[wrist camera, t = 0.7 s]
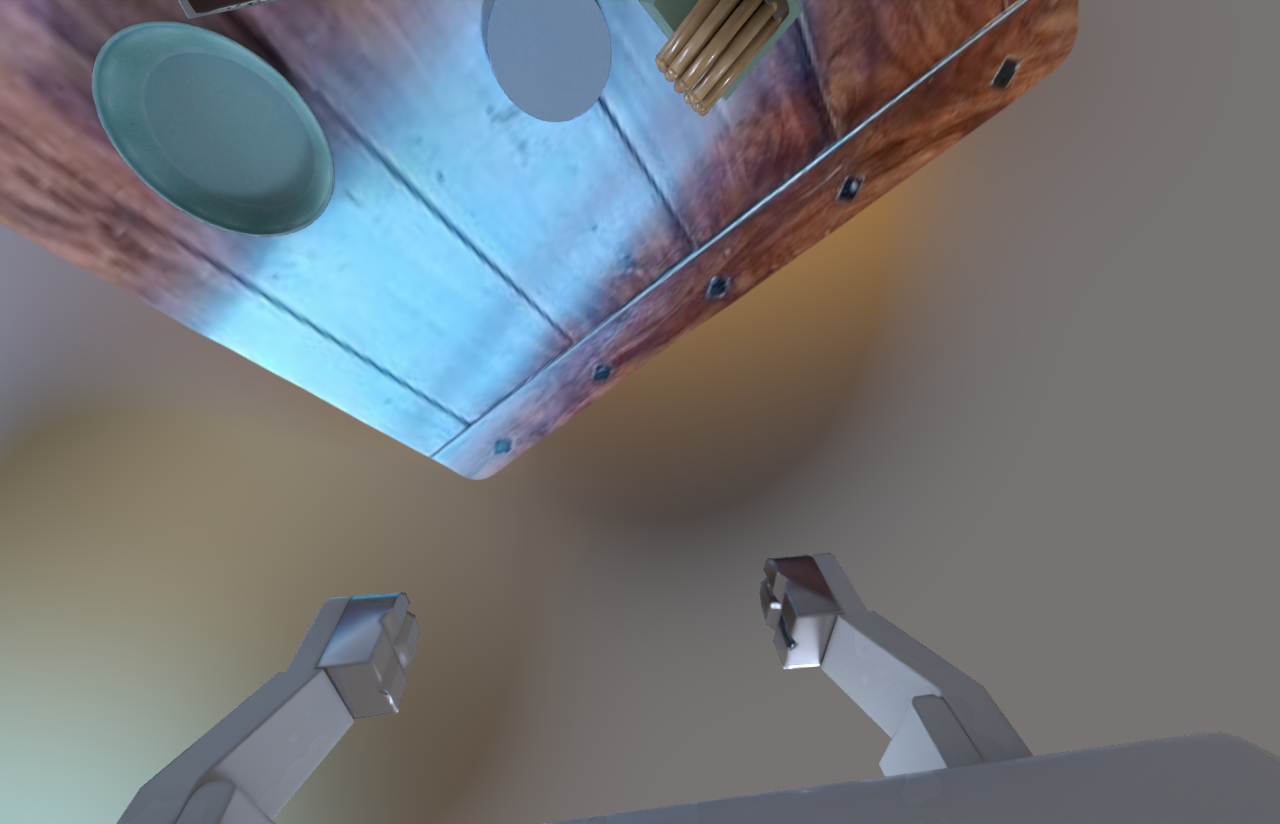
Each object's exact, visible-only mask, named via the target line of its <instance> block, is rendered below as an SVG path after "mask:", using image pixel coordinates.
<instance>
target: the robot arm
mask: <svg viewBox="0 0 1280 824" xmlns="http://www.w3.org/2000/svg"><path fill="white" fill-rule="evenodd" d="M764 572H765V574H766V578H765V579H764V580H763V581H762V582H761V587H760V602H761V608H762V611H763V615H764V618H765V620H766V623H767V624H768V625H769V626H770V627H771V628H773V629H774V630H775V636H774V641H773V642H774V644H775V647H776V650H777V652H778V655H779V657H780V660H781V663H782V665H783V668H784V669H791V668H802V667H815V666H821V669H822V670H823V671H824V672H825V673H826V674H827V675H828V676H829V677H830V678H831V679H832V680H833V681H834V682H835V683H836V684H837V685H838V686H839V687H840V688H841V689H842V690H843V691H845V692H846V694H847V695H848V696H850V698H851V699H852V700H854V701H855V702H856V703H857V704H858V705H859V706H860V707H861V708H862V709H863V710H864V711H865V712H866V713H867V714H868V715H869V716H870V717H871V718H872V719H873V720H874V721H875V722H876V723H877V724H878V725H879V726H880V727H881V728H882V729H883V730H884V731H885V732H886V733H887V734H888V735H889V736H890V737H891V738H892V739H891V741H890V743H889V745H888V747H887V748H886V750H885V752H884V754H883V756H882V758H881V761H880V763H879V765H880V767H881V769H882V771H883V773H884V775H885V777H878V778H870V779H863V780H855V781H848V782H841V783H833V784H826V785H820V786H812V787H804V788H797V789H790V790H782V791H775V792H768V793H761V794H753V795H746V796H739V797H732V798H724V799H717V800H710V801H702V802H695V803H688V804H681V805H673V806H666V807H659V808H651V809H644V810H637V811H629V812H622V813H615V814H607V815H600V816H593V817H585V818H578V819H571V820H563V821H556V822H549V823H542V824H1280V757H1278V756H1276V755H1274V754H1272V753H1270V752H1269V751H1267V750H1264V749H1262V748H1260V747H1258V746H1256V745H1254V744H1252V743H1250V742H1248V741H1246V740H1244V739H1242V738H1240V737H1237V736H1233V735H1230V734H1225V733H1220V732H1218V733H1197V734H1190V735H1183V736H1176V737H1169V738H1163V739H1155V740H1148V741H1140V742H1133V743H1126V744H1118V745H1111V746H1104V747H1097V748H1090V749H1082V750H1075V751H1067V752H1060V753H1052V754H1046V755H1038V756H1033V754H1032V753H1031V752H1030V750H1029V749H1028V747H1027V746H1026V745H1025V743H1024V742H1023V740H1022V739H1021V738H1020V736H1019V735H1018V734H1017V732H1016V731H1015V729H1014V728H1013V727H1012V725H1011V724H1010V722H1009V721H1008V720H1007V718H1006V717H1005V716H1004V714H1003V713H1002V712H1001V710H1000V709H999V707H998V706H997V704H996V703H995V702H994V700H993V699H992V698H991V696H990V695H989V693H988V692H987V691H986V689H985V688H984V686H982V685H981V684H979V683H978V682H976V681H975V680H973V679H972V678H971V677H969V676H968V675H966V674H965V673H963V672H962V671H960V670H959V669H958V668H956V667H955V666H953V665H952V664H950V663H949V662H947V661H946V660H944V659H943V658H942V657H940V656H939V655H937V654H936V653H934V652H933V651H931V650H929V649H928V648H927V647H926V646H924V645H923V644H921V643H920V642H918V641H917V640H915V639H914V638H912V637H911V636H910V635H908V634H907V633H905V632H904V631H902V630H901V629H899V628H898V627H896V626H895V625H894V624H892V623H891V622H889V621H888V620H886V619H885V618H884V617H882V616H880V615H879V614H878V613H876V612H875V611H869V612H868V611H867V609H866V608H865V606H864V604H863V603H862V601H861V599H860V598H859V596H858V594H857V593H856V591H855V589H854V588H853V586H852V584H851V583H850V581H849V580H848V578H847V576H846V575H845V573H844V571H843V570H842V568H841V566H840V565H839V563H838V561H837V560H836V558H835V556H834V555H832V554H831V553H820V554H810V555H807V554H805V555H795V556H786V557H777V558H768V559H767V560H766V561H765V565H764ZM409 604H410V601H409V599H408V597H407V595H406V593H388V594H373V595H358V596H346V597H334V598H329V599H328V600H327V601H326V602H325V603H324V604H323V605H322V606H321V608H320V610H319V612H318V614H317V616H316V617H315V619H314V621H313V623H312V625H311V627H310V629H309V631H308V632H307V634H306V636H305V638H304V640H303V641H302V643H301V645H300V647H299V649H298V651H297V653H296V654H295V656H294V658H293V660H292V662H291V664H290V666H289V667H288V669H287V671H286V672H281V673H277V674H276V675H275V676H274V677H273V678H271V679H270V680H269V681H268V682H267V683H266V684H264V685H263V686H262V687H261V688H260V689H258V690H257V691H256V692H255V693H253V694H252V695H251V696H250V697H249V698H248V699H246V700H245V701H244V702H243V703H242V704H241V705H239V706H238V707H237V708H236V709H234V710H233V711H232V712H231V713H230V714H228V715H227V716H226V717H225V718H224V719H222V720H221V721H220V722H219V723H218V724H216V725H215V726H214V727H213V728H212V729H210V730H209V731H208V732H207V733H206V734H204V735H203V736H202V737H201V738H200V739H198V740H197V741H196V742H195V743H194V744H192V745H191V746H190V747H189V748H188V749H186V750H185V751H184V752H183V753H182V754H180V755H179V756H178V757H177V758H176V759H174V760H173V761H172V762H171V763H170V764H168V765H167V766H166V767H165V768H164V769H162V770H161V771H160V772H159V773H158V774H156V775H155V776H154V777H153V778H152V779H151V780H149V781H148V782H147V783H146V784H144V785H143V786H142V787H141V788H140V789H139V791H138V792H137V794H136V796H135V797H134V798H133V800H132V801H131V803H130V804H129V806H128V807H127V809H126V810H125V812H124V813H123V815H122V816H121V818H120V819H119V821H118V822H117V824H275V823H274V822H273V821H272V820H273V818H274V817H275V816H276V815H277V814H278V813H279V811H280V810H281V809H282V808H283V806H284V805H285V804H286V803H287V802H288V800H289V799H290V798H291V797H292V796H293V794H294V793H295V792H296V791H297V790H298V789H299V787H300V786H301V785H302V784H303V783H304V781H305V780H306V779H307V778H308V777H309V775H310V774H311V773H312V772H313V771H314V769H315V768H316V767H317V766H318V764H319V763H320V762H321V761H322V760H323V759H324V757H325V756H326V755H327V754H328V752H329V751H330V750H331V749H332V748H333V747H334V745H335V744H336V743H337V742H338V741H339V739H340V738H341V737H342V736H343V735H344V733H345V732H346V731H347V730H348V729H349V727H350V726H351V725H352V724H353V723H354V719H357V718H365V717H372V716H379V715H386V714H393V713H397V712H398V709H399V706H400V702H401V699H402V696H403V693H404V690H405V687H406V684H407V679H406V676H405V674H404V672H403V671H404V670H405V669H406V667H408V666H409V665H410V664H411V662H412V661H413V660H414V658H415V654H416V651H417V647H418V637H419V629H418V622H417V620H416V617H415V615H413V614H412V613H410V612H408V611H407V610H408V606H409Z"/></svg>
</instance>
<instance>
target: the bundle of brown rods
mask: <svg viewBox="0 0 1280 824" xmlns="http://www.w3.org/2000/svg"><path fill="white" fill-rule="evenodd" d="M788 14H789V5H788V1H787V0H699V1H698V2H697V3H696V5H695V6H694V7H693V9H692V10H691V11H690V13H689V14H688V15H687V17H686V18H685V19H684V20H683V22H682V23H681V24H680V26H679V27H678V28H677V30H676V31H675V32H674V34H673V35H672V36H671V38H670V39H669V40H668V42H667V43H666V44H665V46H664V47H663V48H662V49H661V51H660V52H659V53H658V55H657V56H656V65H657V67H658V69H659V71H660V72H662V73H664V76H665V79H666V80H667V81H668V82H672V81H674V80H676V81H675V83H674V89H675V91H676V92H677V93H683V92H685V94H684V101H685V102H686V103H687V104H692V109H693V110H694V111H695V112H697V113H698V114H699V115H701V116H704V115H706V114H707V113H708V111H709V110H710V109H711V108H712V107H713V106H714V104H715V103H716V102H717V101H718V100H719V98H720V97H721V96H722V95H723V94H724V93H725V91H726V90H727V89H728V88H729V87H730V85H731V84H732V83H733V82H734V81H735V80H736V78H737V77H738V76H739V75H740V74H741V72H742V71H743V70H744V69H745V68H746V67H747V65H748V64H749V63H750V62H751V61H752V59H753V58H754V57H755V56H756V55H757V54H758V52H759V51H760V50H761V49H762V48H763V46H764V45H765V44H766V43H767V42H768V41H769V39H770V38H771V37H772V36H773V35H774V34H775V32H776V31H777V30H778V29H779V26H780V24H781V23H782V22H783V21H784V20H785V19H786V17H787V16H788Z"/></svg>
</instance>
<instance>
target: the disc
mask: <svg viewBox="0 0 1280 824" xmlns="http://www.w3.org/2000/svg"><path fill="white" fill-rule="evenodd" d="M487 48H488V55H489V59H490V63H491V67H492V69H493V72H494V75H495V77H496V79H497V81H498V83H499V85H500V87H501V88H502V90H503V91H504V93H505V94H506V95H507V97H508V98H509V99H510V100H511V101H512V102H513V103H514V104H515V105H516V106H517V107H518V108H519V109H521V110H522V111H523V112H525V113H527V114H528V115H530V116H532V117H534V118H536V119H539V120H543V121H548V122H563V121H568V120H571V119H574V118H576V117H578V116H580V115H582V114H583V113H585V112H586V111H587V110H589V109H590V108H591V107H592V106H593V105H594V103H595V102H596V101H597V100H598V98H599V97H600V95H601V93H602V91H603V89H604V87H605V85H606V82H607V79H608V76H609V71H610V65H611V42H610V36H609V31H608V27H607V24H606V21H605V18H604V16H603V14H602V11H601V9H600V8H599V6H598V4H597V2H596V1H595V0H495V2H494V4H493V6H492V9H491V12H490V16H489V21H488V27H487Z"/></svg>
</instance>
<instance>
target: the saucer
mask: <svg viewBox="0 0 1280 824" xmlns="http://www.w3.org/2000/svg"><path fill="white" fill-rule="evenodd" d="M92 92H93V98H94V103H95V106H96V110H97V113H98V116H99V119H100V122H101V124H102V126H103V128H104V130H105V132H106V133H107V136H108V138H109V139H110V140H111V142H112V144H113V145H114V147H115V148H116V150H117V151H118V152H119V154H120V155H121V157H122V158H123V160H124V161H125V162H126V163H127V164H128V166H129V167H130V168H131V169H132V170H133V171H134V172H135V174H136V175H137V176H138V177H140V178H141V179H142V181H143V182H144V183H146V184H147V185H148V186H149V187H150V188H151V189H152V190H154V191H155V192H156V193H157V194H159V195H160V196H161V197H162V198H164V199H165V200H167V201H168V202H169V203H171V204H172V205H174V206H175V207H177V208H178V209H180V210H181V211H183V212H185V213H187V214H188V215H190V216H192V217H194V218H196V219H198V220H200V221H202V222H204V223H206V224H209V225H211V226H214V227H217V228H219V229H223V230H226V231H229V232H233V233H238V234H243V235H248V236H259V237H272V236H281V235H287V234H291V233H294V232H297V231H299V230H301V229H304V228H306V227H307V226H309V225H311V224H312V223H313V222H314V221H315V220H316V219H318V218H319V217H320V216H321V214H322V213H323V212H324V211H325V209H326V207H327V206H328V203H329V201H330V199H331V196H332V193H333V189H334V182H335V171H334V163H333V157H332V153H331V149H330V146H329V143H328V140H327V138H326V135H325V133H324V131H323V129H322V127H321V125H320V123H319V121H318V119H317V117H316V116H315V114H314V113H313V111H312V109H311V108H310V107H309V105H308V104H307V102H306V101H305V100H304V99H303V97H302V96H301V95H300V93H299V92H298V91H297V90H296V89H295V88H294V87H293V86H292V84H291V83H290V82H289V81H288V80H287V79H286V78H285V77H284V76H283V75H281V74H280V73H279V72H278V71H277V70H276V69H275V68H274V67H272V66H271V65H270V64H269V63H268V62H266V61H265V60H264V59H262V58H261V57H260V56H258V55H257V54H255V53H254V52H253V51H251V50H249V49H248V48H246V47H245V46H243V45H241V44H240V43H238V42H236V41H234V40H232V39H230V38H228V37H226V36H224V35H222V34H219V33H217V32H215V31H212V30H209V29H207V28H203V27H200V26H196V25H193V24H188V23H182V22H176V21H148V22H142V23H138V24H134V25H131V26H128V27H126V28H124V29H122V30H120V31H118V32H117V33H116V34H114V35H113V36H111V37H110V38H109V39H108V40H107V41H106V43H105V44H104V45H103V46H102V48H101V49H100V51H99V53H98V55H97V57H96V60H95V64H94V66H93V71H92Z"/></svg>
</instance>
